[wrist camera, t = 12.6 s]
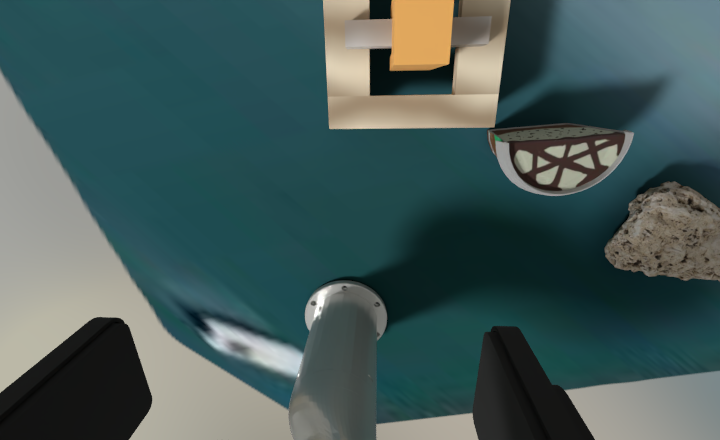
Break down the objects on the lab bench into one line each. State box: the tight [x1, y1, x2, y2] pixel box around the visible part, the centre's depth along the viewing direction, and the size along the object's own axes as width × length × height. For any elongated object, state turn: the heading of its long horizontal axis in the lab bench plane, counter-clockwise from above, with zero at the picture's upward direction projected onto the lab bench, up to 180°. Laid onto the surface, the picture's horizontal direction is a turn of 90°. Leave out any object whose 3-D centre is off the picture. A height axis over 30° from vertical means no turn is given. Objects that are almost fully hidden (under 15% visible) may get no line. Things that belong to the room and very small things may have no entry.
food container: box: [487, 123, 634, 196], centre depth 37 cm, size 12×6×10 cm, turn 95°
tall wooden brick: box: [390, 0, 454, 71], centre depth 28 cm, size 5×4×10 cm
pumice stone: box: [605, 181, 720, 281], centre depth 41 cm, size 14×12×8 cm
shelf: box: [323, 0, 511, 129], centre depth 33 cm, size 16×16×11 cm
